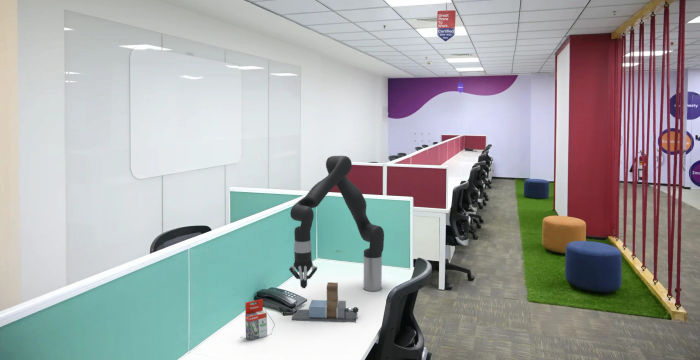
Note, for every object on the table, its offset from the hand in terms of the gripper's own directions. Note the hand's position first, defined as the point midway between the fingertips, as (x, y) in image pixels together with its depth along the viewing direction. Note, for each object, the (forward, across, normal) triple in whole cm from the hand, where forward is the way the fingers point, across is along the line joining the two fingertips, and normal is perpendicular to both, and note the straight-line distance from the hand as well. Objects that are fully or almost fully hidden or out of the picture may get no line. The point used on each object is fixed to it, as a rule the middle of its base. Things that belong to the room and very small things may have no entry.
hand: (303, 287), depth 224 cm
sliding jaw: (+11, -7, +4) cm, 13 cm away
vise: (+12, -10, +4) cm, 16 cm away
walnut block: (+11, -13, +4) cm, 17 cm away
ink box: (+12, +16, +25) cm, 32 cm away
